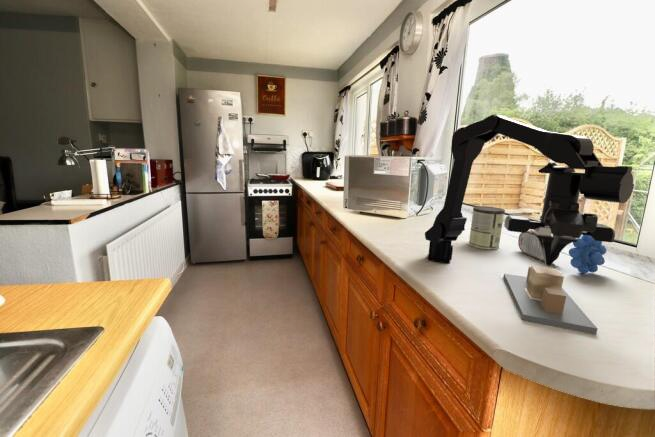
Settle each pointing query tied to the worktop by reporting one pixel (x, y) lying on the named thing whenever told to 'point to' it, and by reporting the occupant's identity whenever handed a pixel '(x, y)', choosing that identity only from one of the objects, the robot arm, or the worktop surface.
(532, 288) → the maple block
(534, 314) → the board
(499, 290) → the worktop surface
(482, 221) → the coffee can
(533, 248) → the tin
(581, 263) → the grapes
